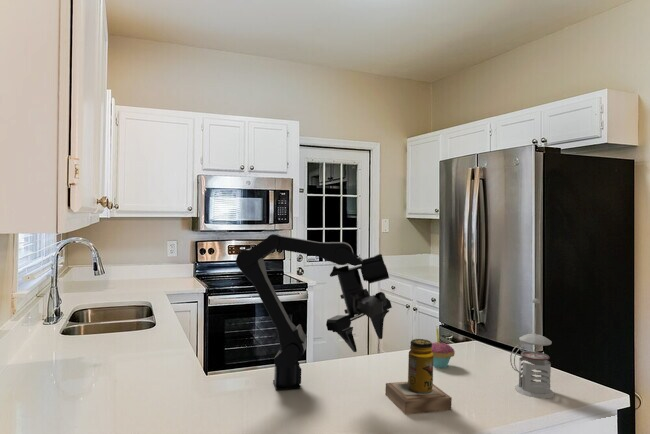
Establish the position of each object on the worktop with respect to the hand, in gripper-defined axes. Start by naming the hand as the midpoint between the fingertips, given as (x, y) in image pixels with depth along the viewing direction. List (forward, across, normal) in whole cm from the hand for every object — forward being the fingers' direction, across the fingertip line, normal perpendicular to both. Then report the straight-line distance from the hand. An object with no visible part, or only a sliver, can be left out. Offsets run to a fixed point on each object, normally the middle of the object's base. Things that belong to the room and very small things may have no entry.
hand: (368, 345), depth 120 cm
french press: (+25, +33, -20) cm, 46 cm away
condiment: (+12, +3, -11) cm, 16 cm away
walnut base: (+15, +2, -10) cm, 18 cm away
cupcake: (+18, +29, +7) cm, 35 cm away
